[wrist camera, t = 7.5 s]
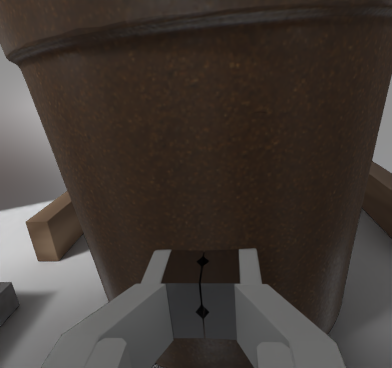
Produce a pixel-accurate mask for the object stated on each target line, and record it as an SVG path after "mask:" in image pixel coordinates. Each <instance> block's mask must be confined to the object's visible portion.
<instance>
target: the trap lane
mask: <svg viewBox="0 0 392 368" xmlns="http://www.w3.org/2000/svg"><path fill="white" fill-rule="evenodd" d="M362 208H363V209H364V210H365V211H366V212H367V213H368V214H369V215H370V216H371V217H372V218H373V219H374V220H375V221H376V222H377V223H378V224H379V226H380V227H381V228H382V229H383V230H384V231H385V232H386V233H387V234H388V235H389V236H390V237H391V238H392V173H390V172H389V171H387V170H386V169H384V168H382V167H381V166H379V165H378V164H376V163H374V162H373V161H372V163H371V167H370V172H369V176H368V181H367V185H366V190H365V194H364V199H363V203H362ZM26 225H27V228H28V231H29V234H30V238H31V241H32V244H33V247H34V250H35V253H36V256H37V259H38V261H59V260H60V259H61V258H62V257H63V255H64V254H65V253H66V252H67V251H68V250H69V249H70V248H71V246H72V245H73V244H74V243H75V242H76V241H77V240H78V239H79V237H80V236H81V235H82V234H83V230H82V228H81V225H80V222H79V220H78V217H77V214H76V212H75V209H74V206H73V204H72V201H71V199H70V196H69V193H68V191H66V192H65V193H64V194H62V195H61V196H60V197H58V198H57V199H56V200H54V201H53V202H52V203H50V204H49V205H48V206H46V207H45V208H44V209H42V210H41V211H40V212H38V213H37V214H36V215H34V216H33V217H32V218H30V219H29V220H28V221H26ZM19 305H20V304H19V301H18V299H17V296H16V293H15V290H14V288H13V285H12V282H0V326H1V325H2V324H3V323H4V322H5V321H6V319H7V318H8V317H9V316H10V315H11V314H12V313H13V312H14V310H15V309H16V308H17V307H18V306H19Z"/></svg>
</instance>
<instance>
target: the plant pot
mask: <svg viewBox="0 0 392 368" xmlns="http://www.w3.org/2000/svg"><path fill="white" fill-rule="evenodd" d="M0 44H1V46H2V49H3V51H4V54H5V56H6V58H7V59H8V60H9V61H11V62H13V63H15V64H16V65H18V66H19V68H20V69H21V71H22V74H23V76H24V78H25V81H26V83H27V86H28V88H29V91H30V94H31V96H32V99H33V101H34V104H35V107H36V109H37V112H38V114H39V117H40V120H41V122H42V125H43V127H44V130H45V133H46V135H47V138H48V140H49V143H50V145H51V148H52V151H53V153H54V156H55V159H56V161H57V164H58V167H59V170H60V172H61V175H62V177H63V180H64V183H65V185H66V188H67V191H68V193H69V196H70V199H71V201H72V204H73V206H74V209H75V212H76V214H77V217H78V220H79V222H80V225H81V228H82V230H83V233H84V236H85V238H86V241H87V244H88V246H89V249H90V252H91V255H92V257H93V260H94V263H95V265H96V268H97V271H98V274H99V276H100V279H101V282H102V285H103V287H104V290H105V293H106V296H107V298H108V301H109V302H110V301H112V300H113V299H114V298H116V297H117V296H119V295H120V294H122V293H123V292H125V291H126V290H127V289H129V288H130V287H132V286H133V285H135V284H141V281H142V279H143V277H144V274H145V272H146V269H147V267H148V265H149V262H150V260H151V258H152V255H153V253H154V251H156V250H170V249H171V250H204V254H205V250H231V249H238V252H239V249H251V248H255V249H256V250H257V255H258V261H259V268H260V274H261V281H262V284H268V285H269V286H270V287H271V288H272V289H274V290H275V291H276V292H277V293H278V294H279V295H281V296H282V297H283V298H284V299H285V300H287V301H288V302H289V303H290V304H291V305H292V306H294V307H295V308H296V309H297V310H298V311H299V312H301V313H302V314H303V315H304V316H305V317H307V318H308V319H309V320H310V321H311V322H312V323H314V324H315V325H316V326H317V327H318V328H319V329H321V330H322V331H323V332H324V333H325V334H326V335H328V333H329V332H330V330H331V329H332V327H333V325H334V323H335V321H336V319H337V317H338V315H339V311H340V308H341V303H342V298H343V293H344V288H345V283H346V278H347V273H348V268H349V263H350V258H351V253H352V249H353V244H354V240H355V235H356V230H357V226H358V221H359V217H360V212H361V208H362V203H363V199H364V194H365V190H366V185H367V181H368V176H369V172H370V167H371V163H372V158H373V154H374V149H375V145H376V140H377V136H378V131H379V127H380V123H381V118H382V114H383V109H384V105H385V101H386V97H387V92H388V88H389V84H390V80H391V75H392V0H0ZM155 363H156V364H158V365H160V366H162V367H164V368H254V367H253V365H252V364H251V362H250V360H249V359H248V357H247V356H246V354H245V353H244V351H243V350H242V348H241V347H240V345H239V344H238V342H237V340H230V339H211V338H206V334H204V338H173V341H172V343H171V344H170V345H169V346H168V347H167V349H166V350H165V351H164V352H163V354H162V355H161V356H160V357H159V358H158V360H157V361H156V362H155Z"/></svg>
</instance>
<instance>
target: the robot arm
mask: <svg viewBox="0 0 392 368" xmlns="http://www.w3.org/2000/svg"><path fill="white" fill-rule="evenodd" d="M204 334H206V338H211V339H230V340H237V342H238V344H239V345H240V347H241V348H242V350H243V351H244V353H245V354H246V356H247V357H248V359H249V360H250V362H251V364H252V365H253V367H254V368H346V366H345V364H344V361H343V359H342V356H341V354H340V351H339V349H338V346H337V344H336V342H335V341H334V340H332V339H331V338H330V337H329V336H328V335H326V334H325V333H324V332H323V331H322V330H321V329H319V328H318V327H317V326H316V325H315V324H314V323H312V322H311V321H310V320H309V319H308V318H307V317H305V316H304V315H303V314H302V313H301V312H299V311H298V310H297V309H296V308H295V307H294V306H292V305H291V304H290V303H289V302H288V301H287V300H285V299H284V298H283V297H282V296H281V295H279V294H278V293H277V292H276V291H275V290H274V289H272V288H271V287H270V286H269V285H268V284H262V281H261V274H260V268H259V261H258V255H257V250H256V249H255V248H251V249H239V252H238V249H231V250H205V254H204V250H171V249H170V250H156V251H154V253H153V255H152V258H151V260H150V262H149V265H148V267H147V269H146V272H145V274H144V277H143V279H142V281H141V284H135V285H133V286H132V287H130V288H129V289H127V290H126V291H125V292H123V293H122V294H120V295H119V296H117V297H116V298H114V299H113V300H112V301H110V302H109V303H107V304H106V305H104V306H103V307H101V308H100V309H98V310H97V311H96V312H94V313H93V314H91V315H90V316H88V317H87V318H85V319H84V320H83V321H81V322H80V323H78V324H77V325H75V326H74V327H72V328H71V329H69V330H68V331H67V332H65V333H64V334H62V335H61V337H60V338H59V340H58V341H57V343H56V345H55V346H54V348H53V349H52V351H51V352H50V354H49V356H48V357H47V359H46V360H45V362H44V363H43V365H42V366H41V368H151V367H152V366H153V365H154V363H155V362H156V361H157V360H158V358H159V357H160V356H161V355H162V354H163V352H164V351H165V350H166V349H167V347H168V346H169V345H170V344H171V343H172V341H173V338H204Z"/></svg>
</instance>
